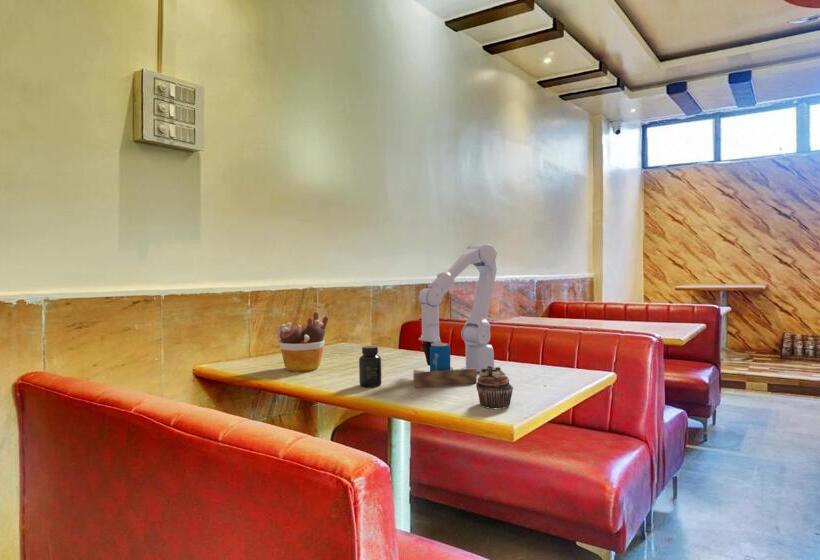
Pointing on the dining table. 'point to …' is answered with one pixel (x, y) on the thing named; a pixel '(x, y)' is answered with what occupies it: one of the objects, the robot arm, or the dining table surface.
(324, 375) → the dining table surface
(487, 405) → the cupcake
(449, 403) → the dining table surface
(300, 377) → the dining table surface
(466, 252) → the robot arm
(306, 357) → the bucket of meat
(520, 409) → the dining table surface
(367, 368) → the supplement bottle
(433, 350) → the beverage can
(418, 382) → the caddy
